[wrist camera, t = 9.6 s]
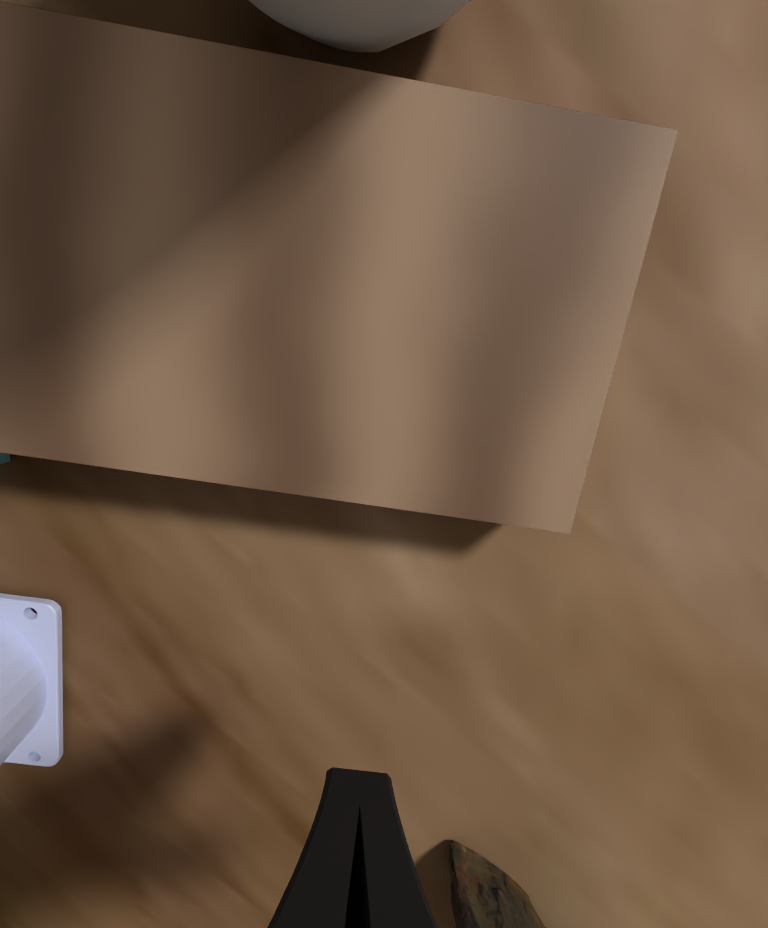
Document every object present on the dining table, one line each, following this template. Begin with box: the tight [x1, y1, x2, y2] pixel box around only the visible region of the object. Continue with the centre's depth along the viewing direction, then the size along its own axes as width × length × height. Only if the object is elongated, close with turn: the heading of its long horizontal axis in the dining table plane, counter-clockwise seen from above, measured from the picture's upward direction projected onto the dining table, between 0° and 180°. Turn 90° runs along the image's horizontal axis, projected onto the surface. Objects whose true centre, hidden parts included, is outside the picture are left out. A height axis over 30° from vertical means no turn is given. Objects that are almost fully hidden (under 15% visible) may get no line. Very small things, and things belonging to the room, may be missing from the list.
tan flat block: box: [0, 1, 678, 534], centre depth 15 cm, size 20×12×4 cm, turn 81°
